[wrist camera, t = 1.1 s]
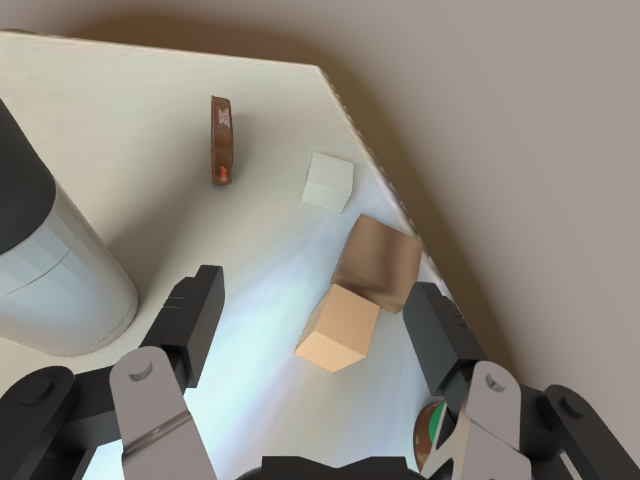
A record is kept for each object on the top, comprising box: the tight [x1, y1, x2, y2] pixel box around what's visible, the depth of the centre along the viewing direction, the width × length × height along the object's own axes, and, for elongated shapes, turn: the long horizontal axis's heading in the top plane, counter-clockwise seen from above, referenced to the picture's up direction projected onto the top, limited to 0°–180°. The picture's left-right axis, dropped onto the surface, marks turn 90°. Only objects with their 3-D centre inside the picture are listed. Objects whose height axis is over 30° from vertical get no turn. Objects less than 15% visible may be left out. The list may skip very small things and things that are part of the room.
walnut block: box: [330, 214, 423, 314], centre depth 39 cm, size 10×10×5 cm
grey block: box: [301, 152, 354, 213], centre depth 45 cm, size 7×7×5 cm
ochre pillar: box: [294, 283, 380, 373], centre depth 29 cm, size 5×5×10 cm
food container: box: [413, 400, 446, 474], centre depth 27 cm, size 12×6×10 cm, turn 110°
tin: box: [211, 95, 233, 184], centre depth 41 cm, size 15×3×8 cm, turn 12°
